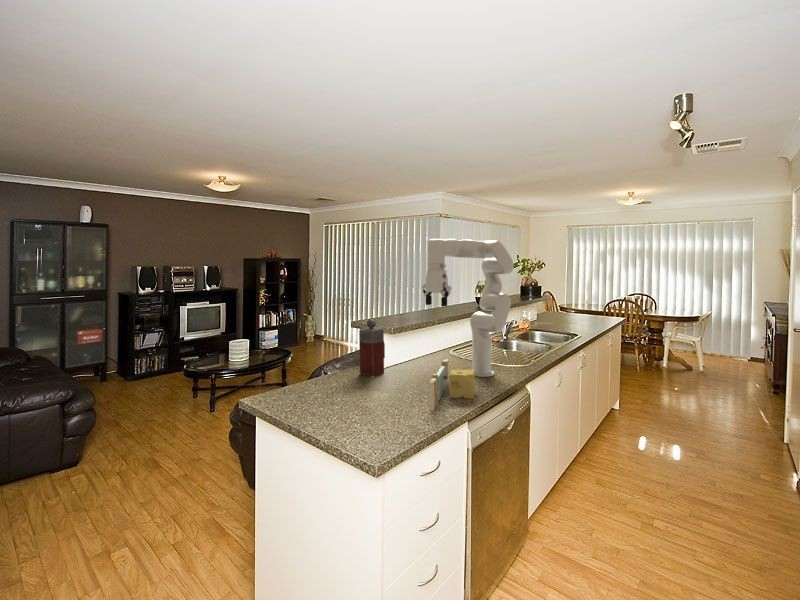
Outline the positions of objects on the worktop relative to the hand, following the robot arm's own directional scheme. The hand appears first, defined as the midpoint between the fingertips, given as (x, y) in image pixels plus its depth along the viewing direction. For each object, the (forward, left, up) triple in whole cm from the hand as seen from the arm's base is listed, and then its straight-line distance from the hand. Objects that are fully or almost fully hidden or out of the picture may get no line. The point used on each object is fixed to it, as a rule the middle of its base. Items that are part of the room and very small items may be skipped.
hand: (436, 305), depth 192 cm
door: (+12, +3, -37) cm, 39 cm away
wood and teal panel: (+12, +3, -37) cm, 39 cm away
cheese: (+9, +12, -38) cm, 41 cm away
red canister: (-17, -36, -38) cm, 54 cm away
